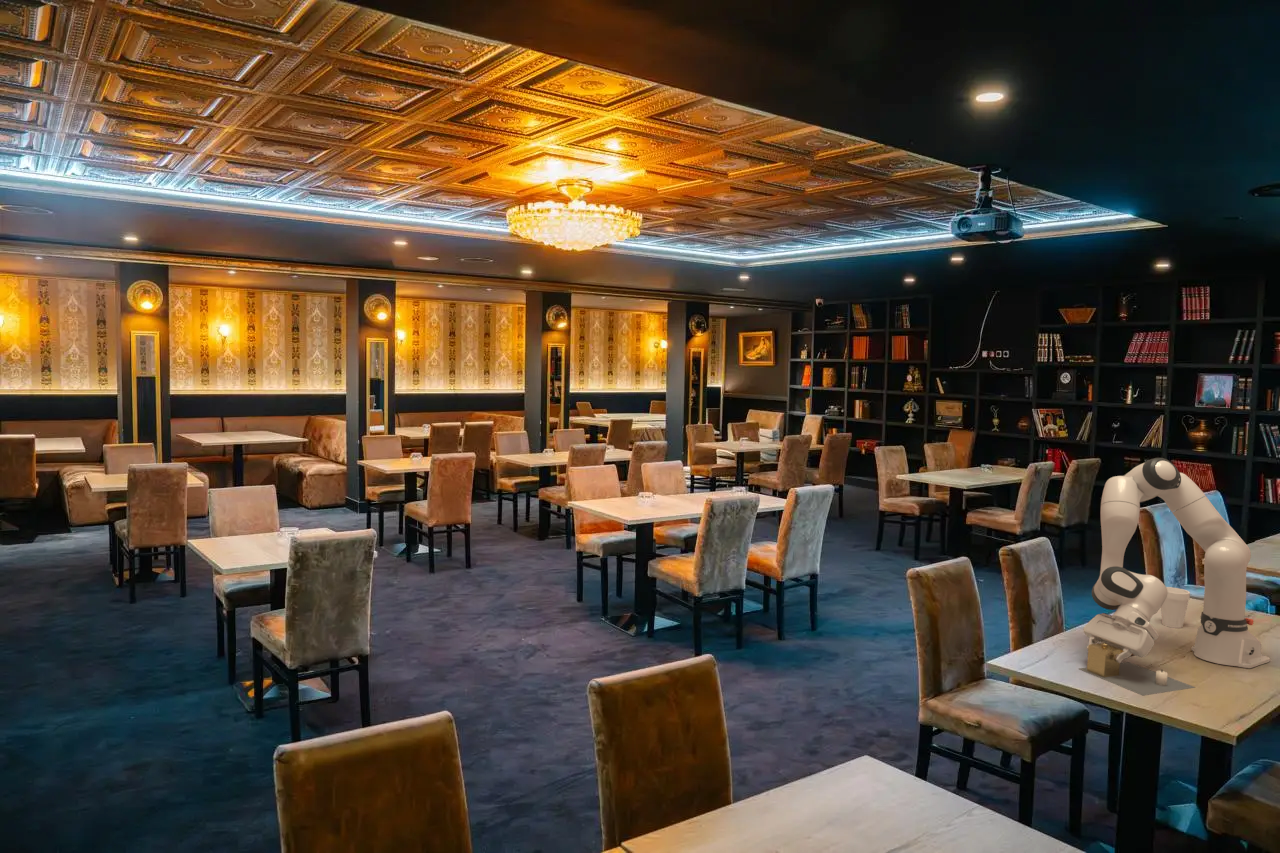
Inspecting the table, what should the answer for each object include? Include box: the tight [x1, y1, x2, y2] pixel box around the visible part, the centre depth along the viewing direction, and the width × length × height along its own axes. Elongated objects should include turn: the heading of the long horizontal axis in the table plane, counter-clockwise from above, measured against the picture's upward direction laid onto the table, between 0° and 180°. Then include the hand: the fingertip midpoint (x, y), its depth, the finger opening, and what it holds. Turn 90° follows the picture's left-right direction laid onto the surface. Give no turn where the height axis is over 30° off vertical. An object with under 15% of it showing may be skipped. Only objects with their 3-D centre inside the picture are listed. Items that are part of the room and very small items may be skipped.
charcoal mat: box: [1078, 661, 1196, 697], centre depth 251 cm, size 21×22×1 cm
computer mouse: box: [1155, 669, 1168, 686], centre depth 246 cm, size 3×3×4 cm
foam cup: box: [1160, 586, 1191, 629], centre depth 307 cm, size 10×9×13 cm
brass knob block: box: [1086, 642, 1121, 677], centre depth 254 cm, size 6×6×9 cm
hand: (1102, 655), depth 254 cm, fingers open, 8 cm apart
